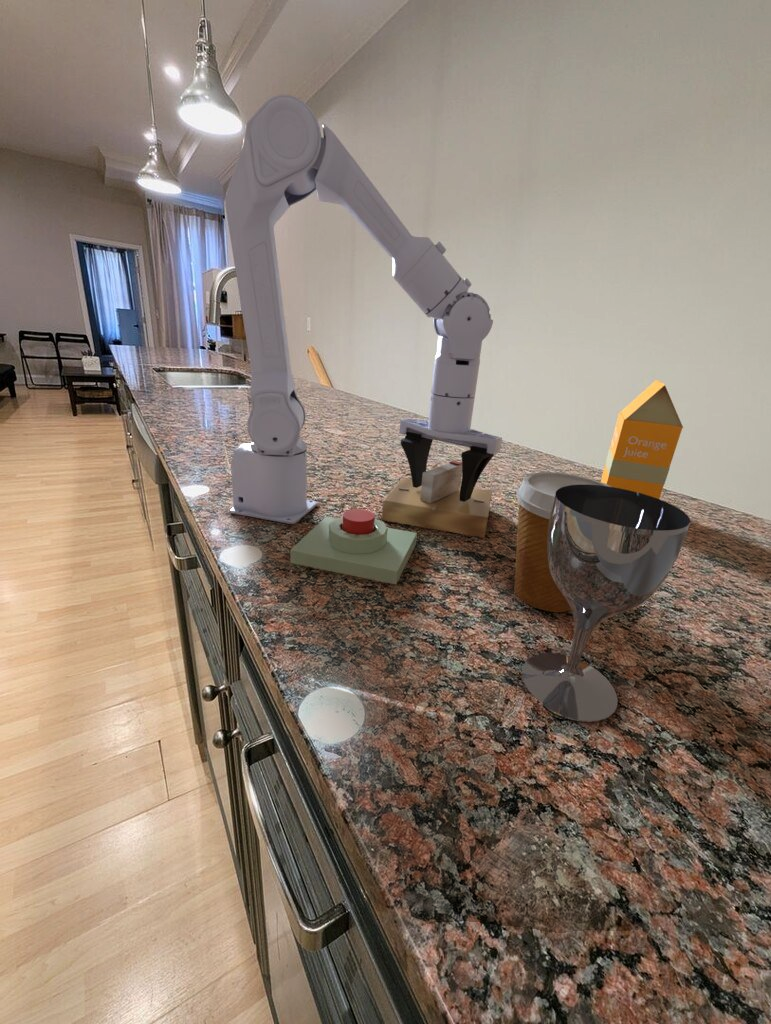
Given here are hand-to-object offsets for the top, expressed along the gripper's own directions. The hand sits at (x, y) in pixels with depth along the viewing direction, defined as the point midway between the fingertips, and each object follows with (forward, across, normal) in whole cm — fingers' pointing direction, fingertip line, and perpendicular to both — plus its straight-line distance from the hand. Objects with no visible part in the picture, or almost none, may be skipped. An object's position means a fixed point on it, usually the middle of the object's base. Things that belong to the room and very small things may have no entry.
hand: (440, 492), depth 63 cm
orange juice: (+4, -20, -25) cm, 32 cm away
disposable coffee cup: (+4, -19, +11) cm, 22 cm away
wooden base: (+3, 0, 0) cm, 3 cm away
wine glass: (+4, -25, +23) cm, 34 cm away
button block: (+3, +1, +17) cm, 18 cm away
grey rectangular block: (0, 0, 0) cm, 0 cm away
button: (0, +1, +17) cm, 17 cm away
